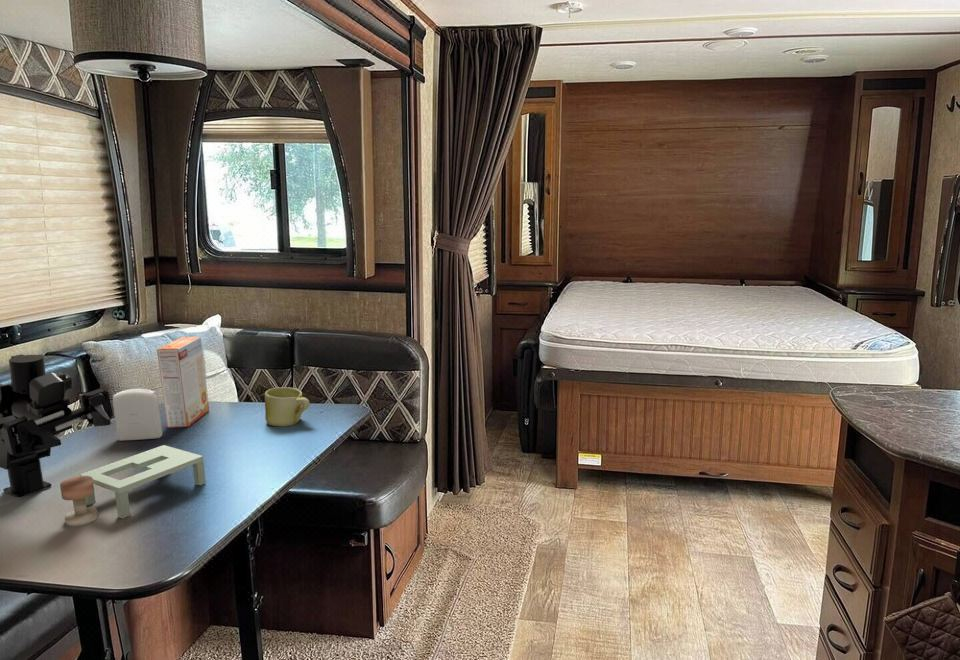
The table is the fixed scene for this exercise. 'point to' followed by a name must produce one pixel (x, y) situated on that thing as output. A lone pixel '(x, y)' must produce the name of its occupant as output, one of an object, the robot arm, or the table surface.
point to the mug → (284, 406)
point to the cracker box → (183, 381)
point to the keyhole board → (166, 464)
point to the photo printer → (137, 414)
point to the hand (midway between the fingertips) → (85, 432)
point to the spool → (78, 500)
